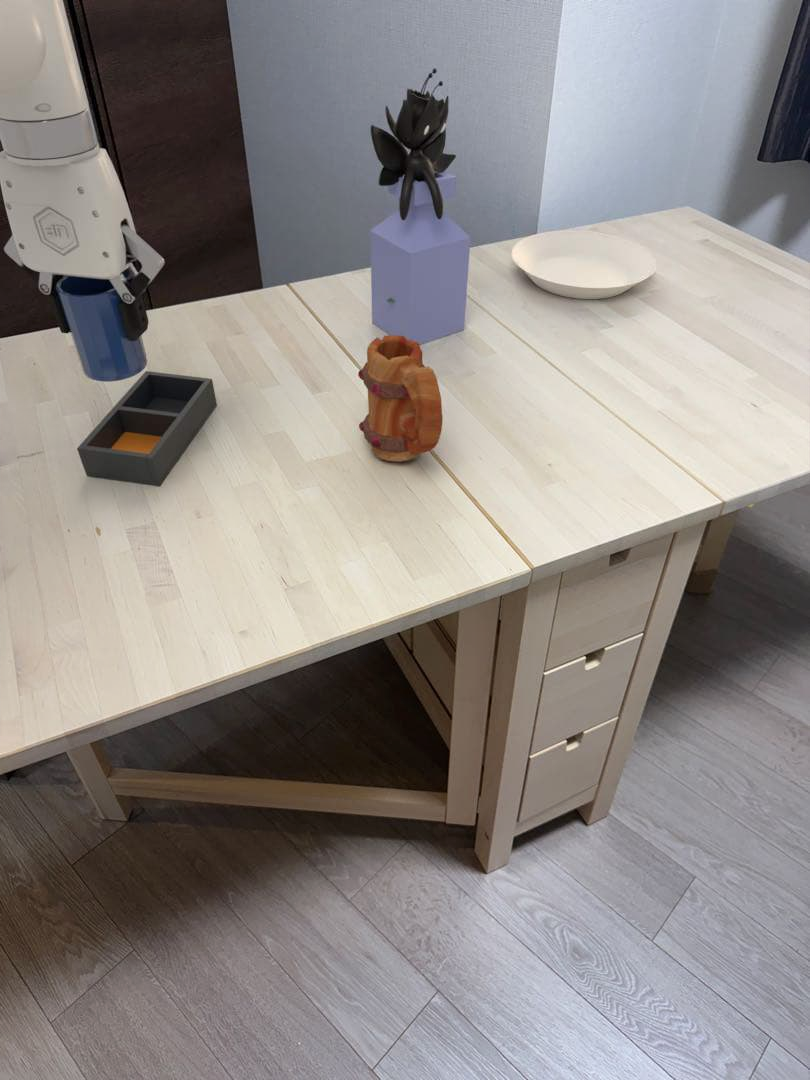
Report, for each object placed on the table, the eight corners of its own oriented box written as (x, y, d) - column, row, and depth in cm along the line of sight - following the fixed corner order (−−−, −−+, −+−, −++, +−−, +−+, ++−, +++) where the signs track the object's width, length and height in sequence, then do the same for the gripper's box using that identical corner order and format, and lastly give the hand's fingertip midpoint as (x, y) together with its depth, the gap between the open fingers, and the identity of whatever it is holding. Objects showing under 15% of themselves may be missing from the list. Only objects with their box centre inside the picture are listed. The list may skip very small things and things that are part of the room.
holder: (86, 476, 89) (76, 448, 86) (152, 397, 102) (145, 370, 99) (159, 486, 88) (152, 458, 85) (217, 405, 101) (212, 378, 98)
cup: (71, 377, 75) (42, 293, 69) (102, 347, 80) (78, 265, 74) (129, 385, 75) (105, 300, 68) (157, 354, 79) (137, 271, 73)
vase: (397, 357, 111) (399, 89, 87) (356, 327, 118) (347, 70, 94) (472, 332, 117) (492, 74, 93) (429, 304, 124) (437, 58, 100)
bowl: (501, 299, 126) (503, 279, 123) (517, 243, 143) (520, 224, 141) (652, 316, 122) (658, 295, 119) (650, 256, 140) (655, 237, 137)
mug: (351, 437, 96) (346, 329, 85) (408, 422, 98) (410, 316, 88) (398, 504, 86) (399, 392, 76) (460, 486, 89) (469, 375, 78)
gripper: (-73, 139, 61) (5, 339, 73) (122, 155, 58) (169, 359, 71) (-17, 116, 66) (47, 305, 79) (164, 129, 64) (201, 323, 76)
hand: (105, 329), depth 75 cm, fingers closed on cup, 6 cm apart
